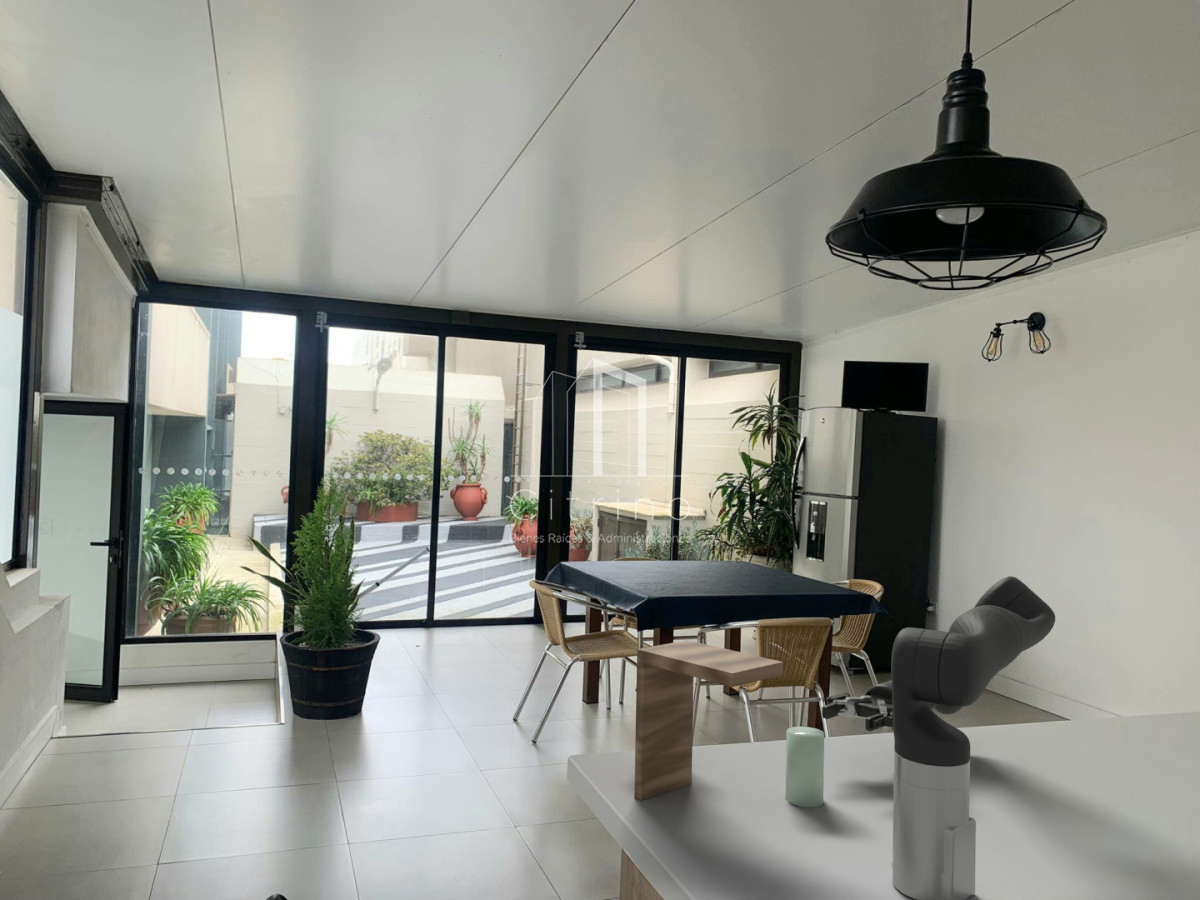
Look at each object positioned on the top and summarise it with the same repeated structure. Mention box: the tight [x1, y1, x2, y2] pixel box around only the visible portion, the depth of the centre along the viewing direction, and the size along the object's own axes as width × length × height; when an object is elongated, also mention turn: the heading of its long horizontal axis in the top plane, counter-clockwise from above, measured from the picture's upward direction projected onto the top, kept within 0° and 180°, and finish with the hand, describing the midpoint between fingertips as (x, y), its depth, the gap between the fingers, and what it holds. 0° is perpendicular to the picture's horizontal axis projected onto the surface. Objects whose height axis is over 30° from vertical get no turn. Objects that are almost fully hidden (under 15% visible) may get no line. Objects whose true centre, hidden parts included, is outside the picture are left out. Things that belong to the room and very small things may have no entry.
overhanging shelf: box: [633, 639, 784, 801], centre depth 139 cm, size 20×12×24 cm, turn 41°
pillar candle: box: [785, 726, 825, 808], centre depth 143 cm, size 6×6×11 cm
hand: (845, 718), depth 150 cm, fingers open, 8 cm apart
